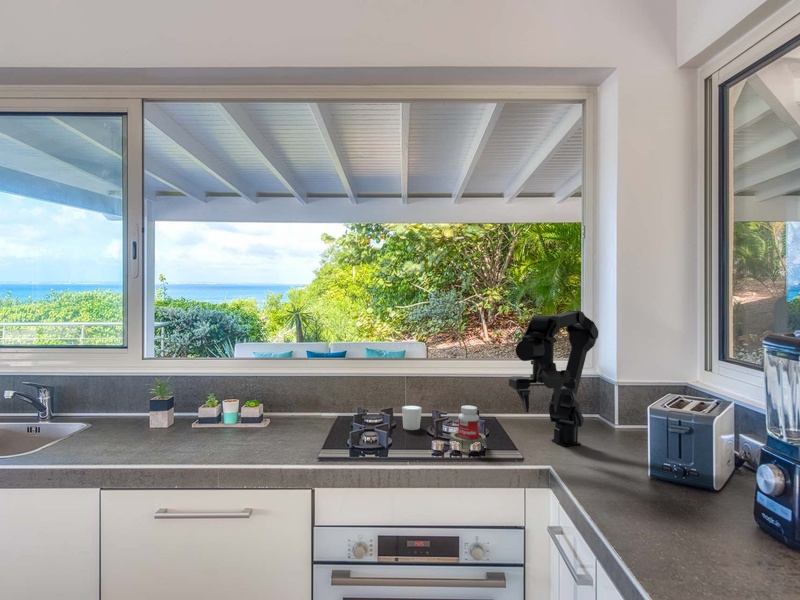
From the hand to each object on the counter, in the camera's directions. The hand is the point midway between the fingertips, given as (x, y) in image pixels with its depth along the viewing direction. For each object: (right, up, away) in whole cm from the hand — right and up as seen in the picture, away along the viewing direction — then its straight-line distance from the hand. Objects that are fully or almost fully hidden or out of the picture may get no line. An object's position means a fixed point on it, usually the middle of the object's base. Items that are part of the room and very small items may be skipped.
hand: (541, 412), depth 144 cm
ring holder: (-21, -12, +4) cm, 24 cm away
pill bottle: (-21, -11, +4) cm, 24 cm away
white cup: (-37, -11, +25) cm, 46 cm away
